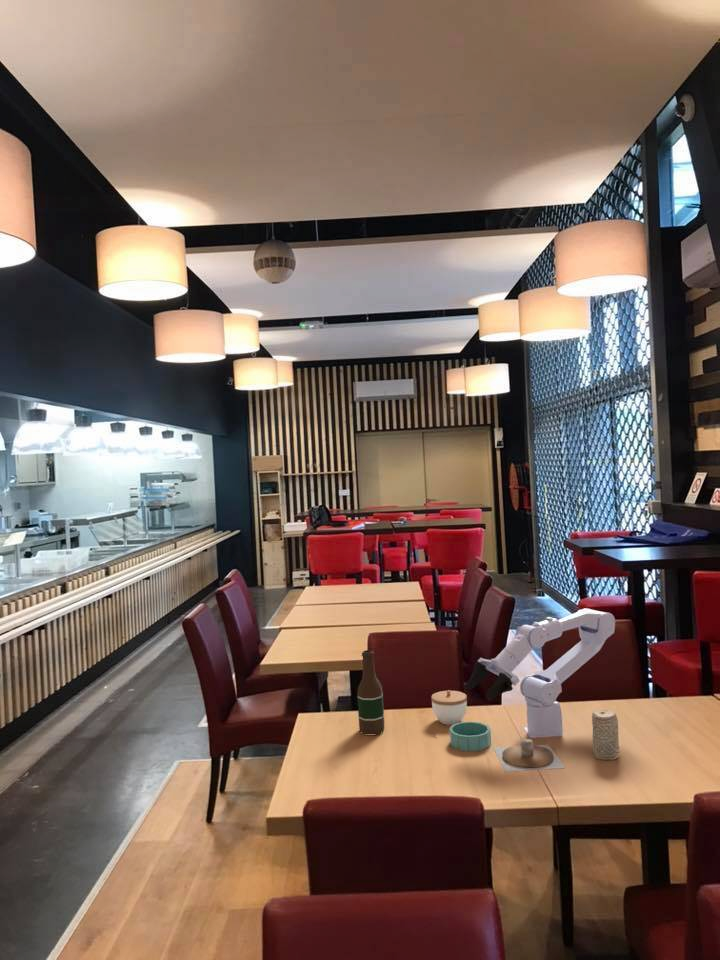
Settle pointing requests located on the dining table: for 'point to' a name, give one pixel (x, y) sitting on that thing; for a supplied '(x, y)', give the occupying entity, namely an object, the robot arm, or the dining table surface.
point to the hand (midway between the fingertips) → (477, 692)
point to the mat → (509, 768)
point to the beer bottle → (370, 698)
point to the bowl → (470, 736)
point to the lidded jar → (449, 706)
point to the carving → (605, 735)
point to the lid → (527, 755)
